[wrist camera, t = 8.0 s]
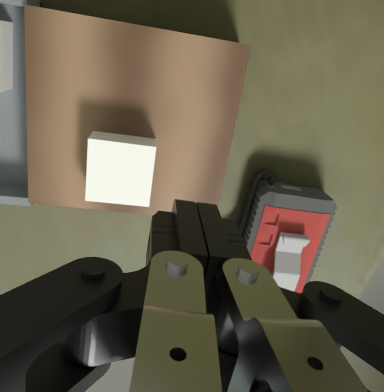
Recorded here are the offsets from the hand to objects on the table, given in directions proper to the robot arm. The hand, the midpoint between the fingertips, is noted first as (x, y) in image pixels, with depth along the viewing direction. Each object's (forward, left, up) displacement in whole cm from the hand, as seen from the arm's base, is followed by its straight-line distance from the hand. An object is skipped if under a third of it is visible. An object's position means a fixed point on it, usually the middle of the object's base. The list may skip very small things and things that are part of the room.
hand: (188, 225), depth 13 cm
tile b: (+3, +2, -12) cm, 12 cm away
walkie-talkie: (-9, +12, -15) cm, 21 cm away
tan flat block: (+3, -1, -15) cm, 15 cm away
